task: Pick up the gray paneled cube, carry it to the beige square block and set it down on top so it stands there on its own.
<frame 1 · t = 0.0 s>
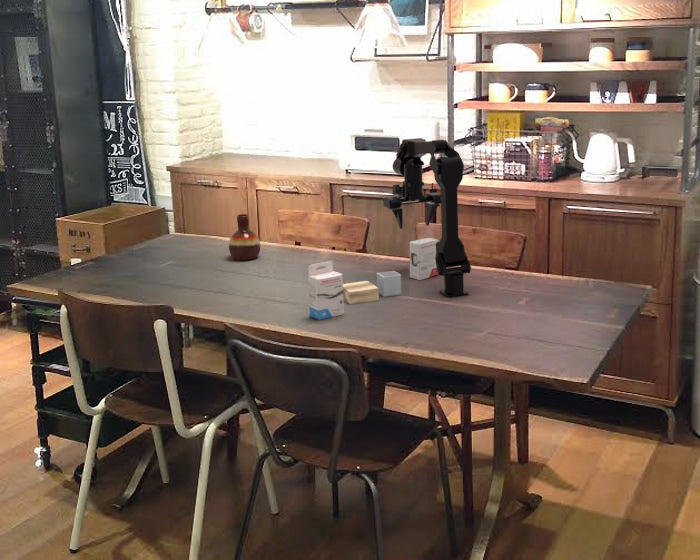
hand: (414, 227, 282), 15 cm above the table, fingers open, 9 cm apart
vase: (245, 258, 311), on the table
ink box 2: (327, 316, 244), on the table
ink box: (424, 277, 279), on the table
beige square block: (359, 299, 259), on the table
gray paneled cube: (389, 293, 263), on the table
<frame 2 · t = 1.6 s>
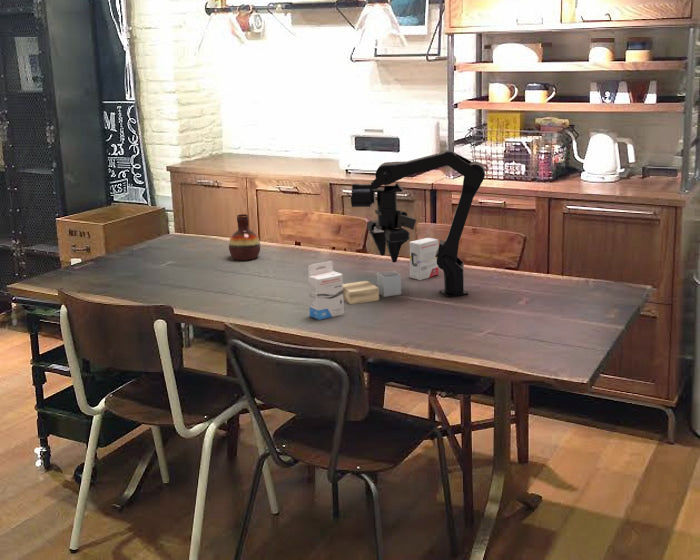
hand: (388, 258, 260), 11 cm above the table, fingers open, 9 cm apart
nothing on the table moved.
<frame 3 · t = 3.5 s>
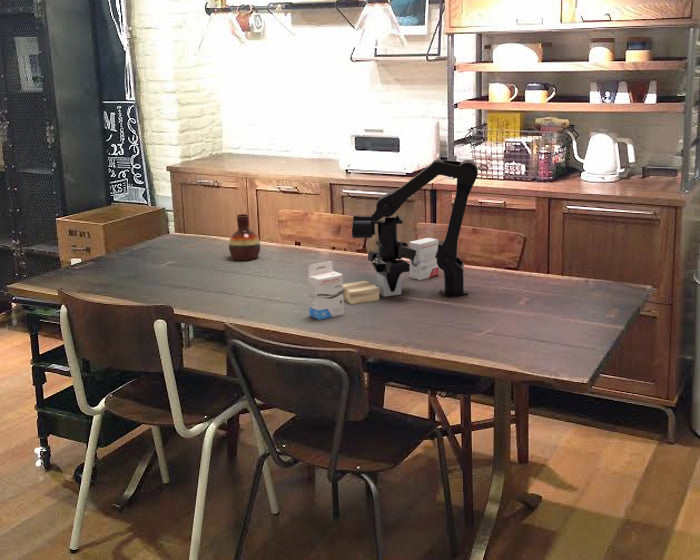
hand: (389, 289, 262), 1 cm above the table, fingers closed on gray paneled cube, 5 cm apart
gray paneled cube: (389, 293, 263), on the table, touching gripper
everything else where it was.
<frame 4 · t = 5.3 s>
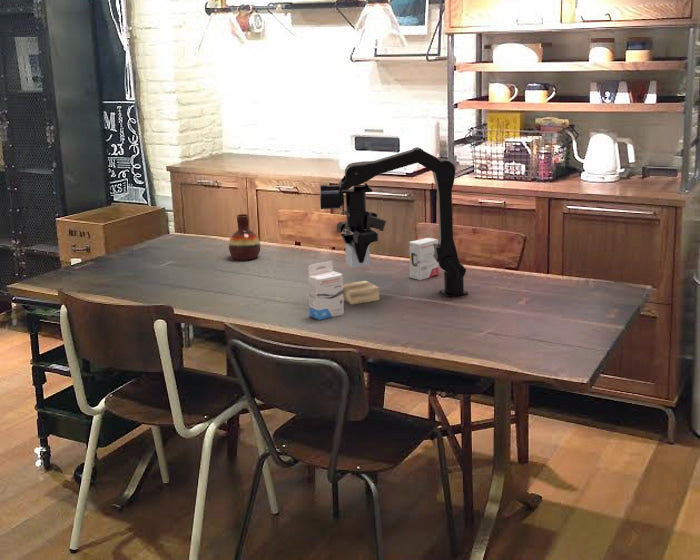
hand: (357, 260, 256), 11 cm above the table, fingers closed on gray paneled cube, 5 cm apart
gray paneled cube: (357, 264, 256), point 10 cm above the table, touching gripper
everything else where it was.
when the fingers open (6 cm above the table, at t = 7.3 s): gray paneled cube drops 1 cm, point 4 cm above the table.
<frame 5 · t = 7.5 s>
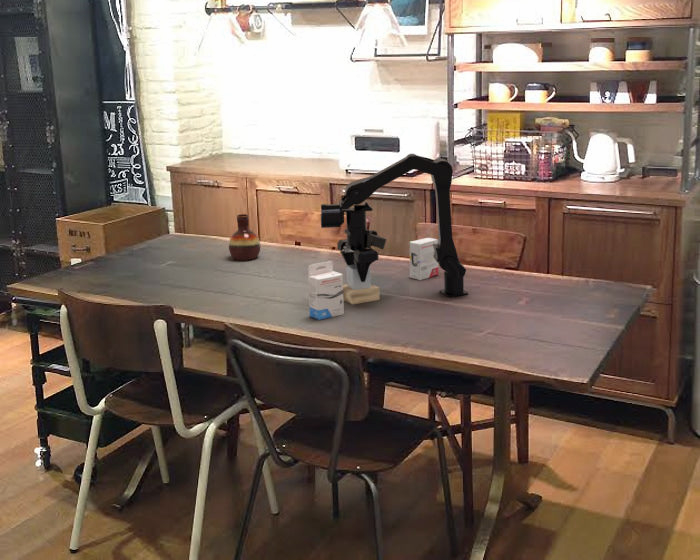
hand: (358, 278, 257), 6 cm above the table, fingers open, 8 cm apart
gray paneled cube: (358, 286, 258), point 4 cm above the table
everything else where it was.
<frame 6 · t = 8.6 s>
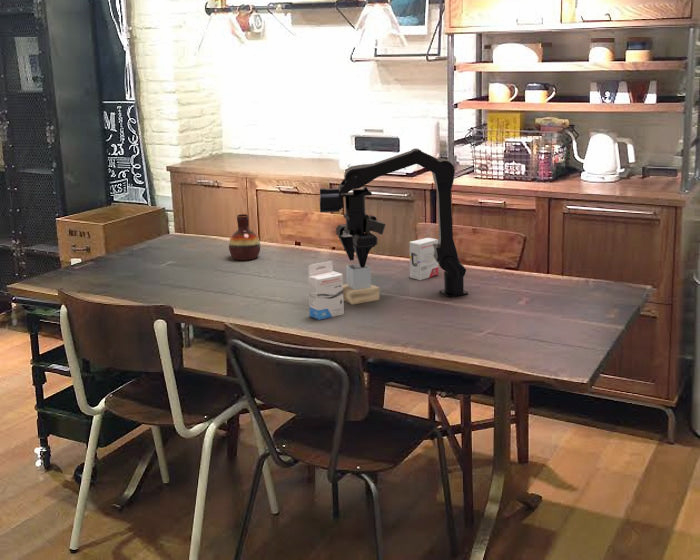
hand: (357, 263, 256), 10 cm above the table, fingers open, 9 cm apart
beige square block: (358, 299, 259), on the table, touching gray paneled cube
gray paneled cube: (358, 286, 258), point 4 cm above the table, touching beige square block
everything else where it was.
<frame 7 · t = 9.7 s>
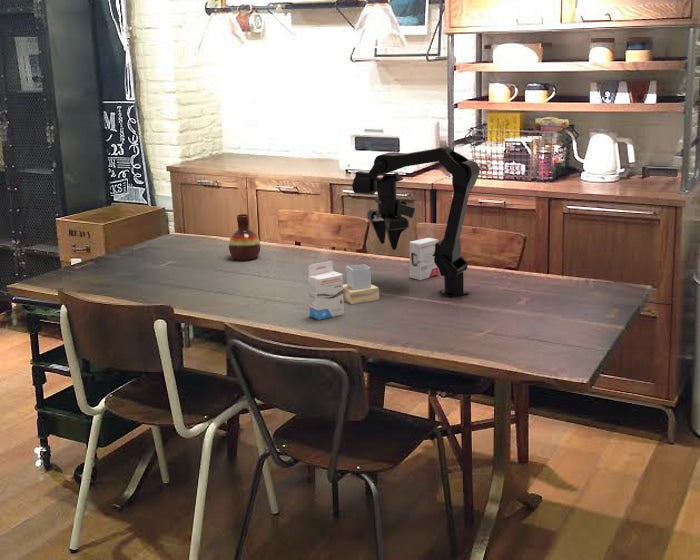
hand: (388, 246, 267), 12 cm above the table, fingers open, 9 cm apart
nothing on the table moved.
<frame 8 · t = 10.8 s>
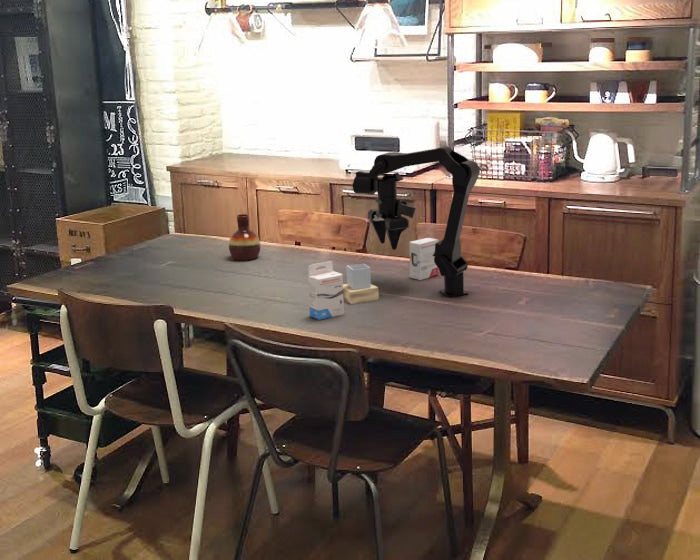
hand: (388, 246, 267), 13 cm above the table, fingers open, 9 cm apart
beige square block: (357, 299, 259), on the table
gray paneled cube: (358, 286, 258), point 4 cm above the table
everything else where it was.
at the end: gray paneled cube 0.5 cm off-centre on the beige square block, point 4.0 cm above the beige square block's base; gray paneled cube tilted 0°; gray paneled cube touching beige square block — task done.
